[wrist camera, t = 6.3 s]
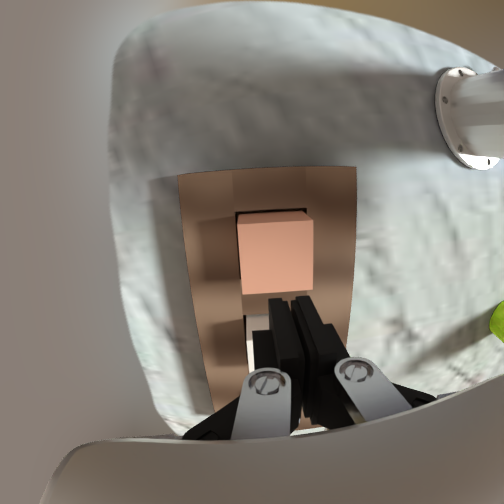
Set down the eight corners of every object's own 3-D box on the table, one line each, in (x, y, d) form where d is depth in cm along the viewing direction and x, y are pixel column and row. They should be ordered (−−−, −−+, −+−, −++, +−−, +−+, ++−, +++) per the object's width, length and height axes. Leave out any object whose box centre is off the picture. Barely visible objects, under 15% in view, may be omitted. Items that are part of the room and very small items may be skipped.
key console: (187, 173, 24) (177, 175, 21) (340, 166, 24) (356, 166, 21) (222, 412, 33) (220, 434, 30) (325, 404, 33) (331, 425, 30)
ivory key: (246, 315, 25) (246, 340, 21) (302, 311, 25) (310, 335, 21) (249, 358, 26) (250, 385, 23) (300, 354, 26) (307, 380, 23)
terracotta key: (238, 214, 22) (237, 224, 18) (301, 210, 22) (313, 220, 18) (243, 273, 24) (242, 294, 20) (302, 269, 24) (312, 289, 20)
